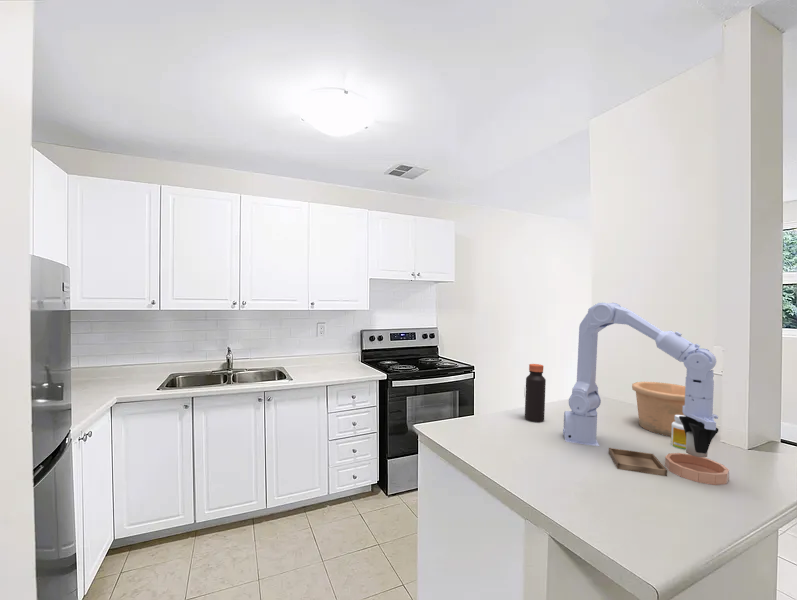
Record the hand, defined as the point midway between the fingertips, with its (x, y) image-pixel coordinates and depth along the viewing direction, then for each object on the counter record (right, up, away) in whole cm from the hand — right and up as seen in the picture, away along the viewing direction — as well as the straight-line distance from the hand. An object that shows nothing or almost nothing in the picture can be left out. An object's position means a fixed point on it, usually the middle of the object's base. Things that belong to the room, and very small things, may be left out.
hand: (696, 448), depth 99 cm
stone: (0, -1, 0) cm, 1 cm away
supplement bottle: (+9, -7, +18) cm, 21 cm away
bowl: (0, -7, 0) cm, 7 cm away
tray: (-13, -6, +4) cm, 15 cm away
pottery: (+17, -7, +35) cm, 40 cm away
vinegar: (-27, -6, +42) cm, 50 cm away
